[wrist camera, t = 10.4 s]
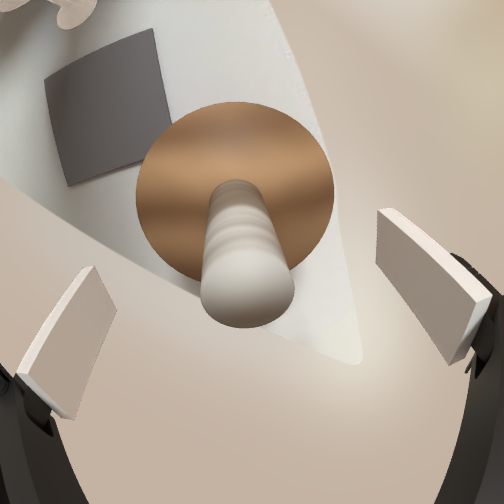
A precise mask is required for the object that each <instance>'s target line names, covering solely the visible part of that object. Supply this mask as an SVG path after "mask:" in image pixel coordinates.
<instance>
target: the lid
mask: <svg viewBox="0 0 504 504" xmlns="http://www.w3.org/2000/svg"><path fill="white" fill-rule="evenodd" d="M333 203H334V183H333V176H332V172H331V168H330V165H329V162H328V160H327V158H326V155H325V153H324V151H323V150H322V148H321V146H320V145H319V143H318V142H317V140H316V139H315V138H314V137H313V136H312V135H311V133H310V132H309V131H308V130H307V129H306V128H304V127H303V126H302V125H301V124H300V123H299V122H297V121H296V120H294V119H293V118H291V117H290V116H288V115H286V114H284V113H282V112H280V111H278V110H276V109H273V108H270V107H267V106H263V105H260V104H254V103H246V102H226V103H219V104H214V105H210V106H207V107H203V108H200V109H198V110H196V111H194V112H192V113H189V114H187V115H185V116H184V117H182V118H181V119H179V120H178V121H176V122H175V123H173V124H172V125H171V126H170V127H169V128H167V129H166V130H165V131H164V132H163V133H162V134H161V135H160V136H159V138H158V139H157V140H156V141H155V142H154V144H153V145H152V147H151V148H150V150H149V151H148V153H147V155H146V157H145V159H144V161H143V164H142V166H141V169H140V172H139V176H138V180H137V187H136V207H137V213H138V218H139V221H140V224H141V227H142V230H143V232H144V234H145V236H146V238H147V240H148V241H149V243H150V245H151V246H152V248H153V249H154V250H155V251H156V253H157V254H158V255H159V256H160V257H161V258H162V259H163V260H164V261H165V262H166V263H167V264H168V265H170V266H171V267H173V268H174V269H175V270H177V271H178V272H180V273H182V274H184V275H185V276H187V277H190V278H192V279H194V280H197V281H200V282H201V290H200V298H201V302H202V305H203V307H204V309H205V311H206V312H207V313H208V314H209V315H210V316H211V317H212V318H213V319H215V320H216V321H218V322H220V323H221V324H224V325H227V326H230V327H235V328H254V327H259V326H262V325H265V324H268V323H270V322H272V321H274V320H275V319H277V318H278V317H280V316H281V315H282V314H283V313H284V312H285V311H286V310H287V309H288V307H289V306H290V304H291V302H292V300H293V296H294V283H293V280H292V277H291V274H290V271H289V270H291V269H292V268H294V267H295V266H297V265H298V264H299V263H300V262H302V261H303V260H304V259H305V258H306V257H307V256H308V255H309V254H310V253H311V252H312V251H313V249H314V248H315V247H316V245H317V244H318V243H319V241H320V239H321V238H322V236H323V234H324V233H325V230H326V228H327V226H328V223H329V221H330V217H331V214H332V209H333Z"/></svg>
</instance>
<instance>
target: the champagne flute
mask: <svg viewBox="0 0 504 504" xmlns="http://www.w3.org/2000/svg"><path fill="white" fill-rule="evenodd" d="M28 1H29V0H0V11H1V12H8V11H11V10H14V9H16V8H18V7H20V6H22V5H24V4H25V3H27V2H28ZM48 1H50V2H52V3H55V4H57V5H59V6H61V7H60V9H59V11H58V14H57V25H58V26H59V27H60V28H61V29H64V30H68V29H72V28H75V27H77V26H79V25H80V24H82V23H83V22H84V21H85V20H86V19H87V18H88V17H89V16H90V15H91V14H92V12H93V10H94V9H95V7H96V4H97V0H48Z"/></svg>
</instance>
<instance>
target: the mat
mask: <svg viewBox="0 0 504 504" xmlns="http://www.w3.org/2000/svg"><path fill="white" fill-rule="evenodd" d="M44 83H45V90H46V96H47V102H48V108H49V114H50V119H51V124H52V128H53V133H54V137H55V141H56V145H57V149H58V153H59V157H60V161H61V164H62V168H63V171H64V175H65V178H66V181H67V184H68V187H69V186H71V185H73V184H76V183H78V182H81V181H83V180H86V179H89V178H91V177H94V176H96V175H99V174H102V173H105V172H107V171H110V170H113V169H116V168H119V167H122V166H125V165H128V164H131V163H134V162H137V161H140V160H144V159H145V157H146V155H147V153H148V151H149V150H150V148H151V147H152V145H153V144H154V142H155V141H156V140H157V139H158V138H159V136H160V135H161V134H162V133H163V132H164V131H165V130H166V129H167V128H169V127H170V126H171V125H172V122H171V118H170V113H169V109H168V104H167V100H166V95H165V90H164V85H163V81H162V76H161V71H160V66H159V60H158V55H157V50H156V44H155V39H154V33H153V29H152V28H151V29H148V30H145V31H142V32H139V33H137V34H134V35H131V36H129V37H126V38H124V39H121V40H119V41H117V42H114V43H112V44H110V45H107V46H105V47H103V48H101V49H99V50H97V51H94V52H92V53H90V54H88V55H86V56H84V57H83V58H81V59H79V60H77V61H75V62H73V63H71V64H70V65H68V66H66V67H64V68H63V69H61V70H59V71H57V72H56V73H54V74H53V75H51V76H49V77H48V78H46V79H45V80H44Z"/></svg>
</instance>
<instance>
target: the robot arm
mask: <svg viewBox="0 0 504 504" xmlns="http://www.w3.org/2000/svg"><path fill="white" fill-rule="evenodd" d="M376 264H377V265H378V267H379V268H380V269H381V270H382V272H383V273H384V274H385V275H386V277H387V278H388V279H389V281H390V282H391V283H392V284H393V286H394V287H395V288H396V290H397V291H398V292H399V294H400V295H401V296H402V298H403V299H404V300H405V302H406V303H407V305H408V306H409V307H410V309H411V310H412V312H413V313H414V314H415V315H416V317H417V318H418V320H419V321H420V323H421V324H422V326H423V327H424V328H425V330H426V332H427V333H428V334H429V336H430V337H431V339H432V340H433V342H434V343H435V345H436V346H437V348H438V350H439V351H440V353H441V354H442V356H443V357H444V359H445V361H446V362H447V364H448V365H452V364H454V363H455V362H458V361H460V360H462V359H464V358H465V356H466V354H467V353H468V351H469V349H470V347H472V348H473V349H474V351H475V353H474V356H473V357H472V359H471V361H470V363H469V364H468V366H467V368H466V371H465V373H468V371H469V370H470V368H471V375H470V382H469V388H468V394H467V400H466V405H465V410H464V415H463V419H462V423H461V427H460V432H459V435H458V439H457V442H456V446H455V449H454V453H453V456H452V459H451V462H450V465H449V468H448V470H447V473H446V476H445V479H444V481H443V484H442V486H441V489H440V491H439V493H438V496H437V498H436V500H435V503H434V504H504V295H503V296H502V295H501V294H500V293H499V292H498V291H497V290H496V289H495V288H494V287H493V286H492V285H491V284H490V283H489V282H488V281H487V280H486V279H485V278H484V277H483V276H482V275H481V274H478V271H476V270H475V269H474V268H472V266H471V265H470V264H469V263H468V262H467V261H465V260H464V259H463V258H461V257H459V256H457V255H455V254H453V253H450V254H449V253H448V252H447V251H446V250H445V249H443V248H442V247H441V246H440V245H439V244H438V243H436V242H435V241H434V240H433V239H431V238H430V237H429V236H428V235H427V234H426V233H424V232H423V231H422V230H421V229H419V228H418V227H417V226H416V225H414V224H413V223H412V222H410V221H409V220H408V219H406V218H405V217H404V216H403V215H401V214H400V213H399V212H397V211H396V210H395V209H393V208H385V209H379V210H377V247H376ZM116 312H117V309H116V307H115V306H114V304H113V302H112V300H111V298H110V296H109V294H108V292H107V291H106V288H105V286H104V284H103V283H102V281H101V278H100V277H99V275H98V272H97V270H96V268H95V266H89V267H85V268H82V269H81V271H80V272H79V273H78V275H77V276H76V277H75V279H74V280H73V281H72V283H71V284H70V286H69V287H68V288H67V290H66V291H65V293H64V294H63V295H62V297H61V298H60V300H59V301H58V303H57V304H56V306H55V307H54V309H53V310H52V312H51V313H50V315H49V316H48V318H47V319H46V321H45V322H44V324H43V326H42V327H41V329H40V331H39V332H38V334H37V335H36V337H35V339H34V340H33V342H32V344H31V346H30V347H29V349H28V351H27V352H26V354H25V356H24V358H23V360H22V362H21V363H20V365H19V367H18V369H17V371H16V374H15V376H14V378H13V377H12V376H11V375H10V374H9V373H8V372H7V371H6V369H5V368H4V367H3V366H2V365H1V364H0V504H89V503H88V501H87V499H86V497H85V495H84V493H83V491H82V489H81V487H80V485H79V483H78V480H77V478H76V476H75V474H74V471H73V469H72V467H71V464H70V462H69V459H68V457H67V454H66V452H65V449H64V446H63V444H62V440H61V437H60V435H59V431H58V428H57V425H56V422H55V420H54V418H53V417H52V416H51V415H50V413H51V410H53V411H54V412H55V413H56V414H57V415H59V416H60V417H61V418H64V419H70V420H75V417H76V414H77V411H78V408H79V405H80V402H81V399H82V396H83V393H84V390H85V387H86V385H87V382H88V379H89V377H90V374H91V371H92V368H93V366H94V363H95V361H96V358H97V356H98V353H99V351H100V349H101V346H102V344H103V341H104V338H105V337H106V334H107V332H108V329H109V327H110V325H111V323H112V321H113V318H114V316H115V314H116Z"/></svg>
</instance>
